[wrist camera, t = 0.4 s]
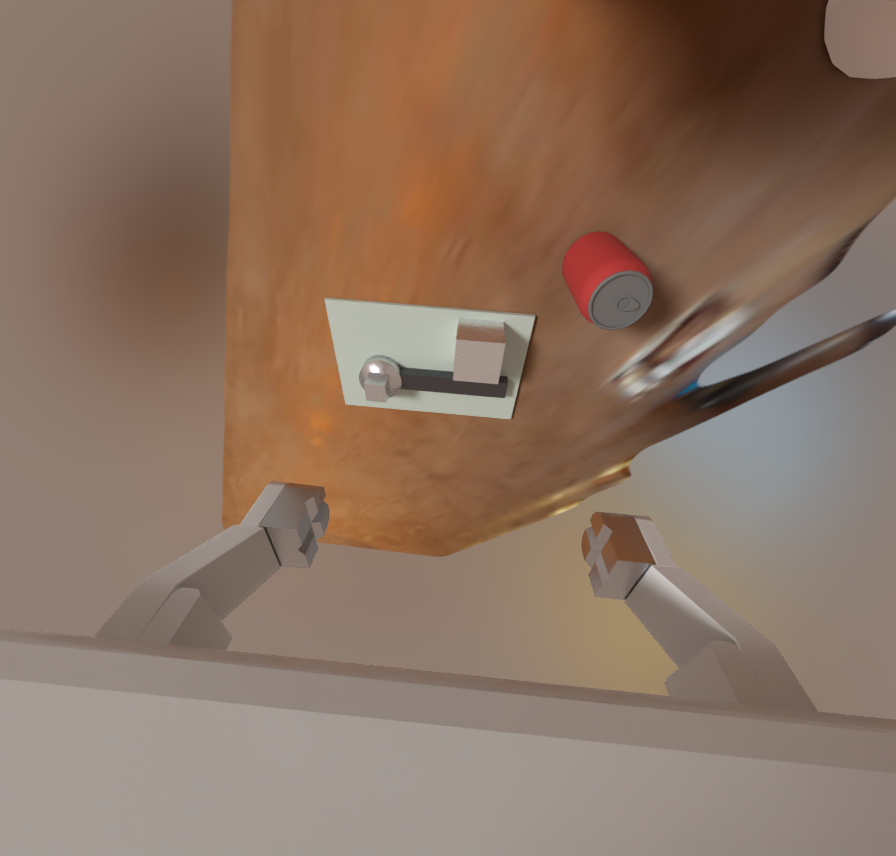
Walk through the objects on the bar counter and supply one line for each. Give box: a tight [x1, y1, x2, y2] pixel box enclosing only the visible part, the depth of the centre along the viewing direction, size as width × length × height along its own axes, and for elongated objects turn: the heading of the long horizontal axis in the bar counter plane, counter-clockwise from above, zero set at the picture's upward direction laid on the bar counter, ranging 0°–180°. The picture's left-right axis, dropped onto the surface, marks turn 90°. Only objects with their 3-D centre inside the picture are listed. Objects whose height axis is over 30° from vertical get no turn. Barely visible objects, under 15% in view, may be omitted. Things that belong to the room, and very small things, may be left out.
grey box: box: [453, 318, 506, 384], centre depth 45 cm, size 6×6×6 cm
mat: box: [325, 298, 535, 419], centre depth 51 cm, size 18×28×1 cm, turn 87°
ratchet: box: [359, 355, 508, 403], centre depth 50 cm, size 6×22×5 cm, turn 87°
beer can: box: [563, 231, 653, 330], centre depth 36 cm, size 7×7×12 cm
